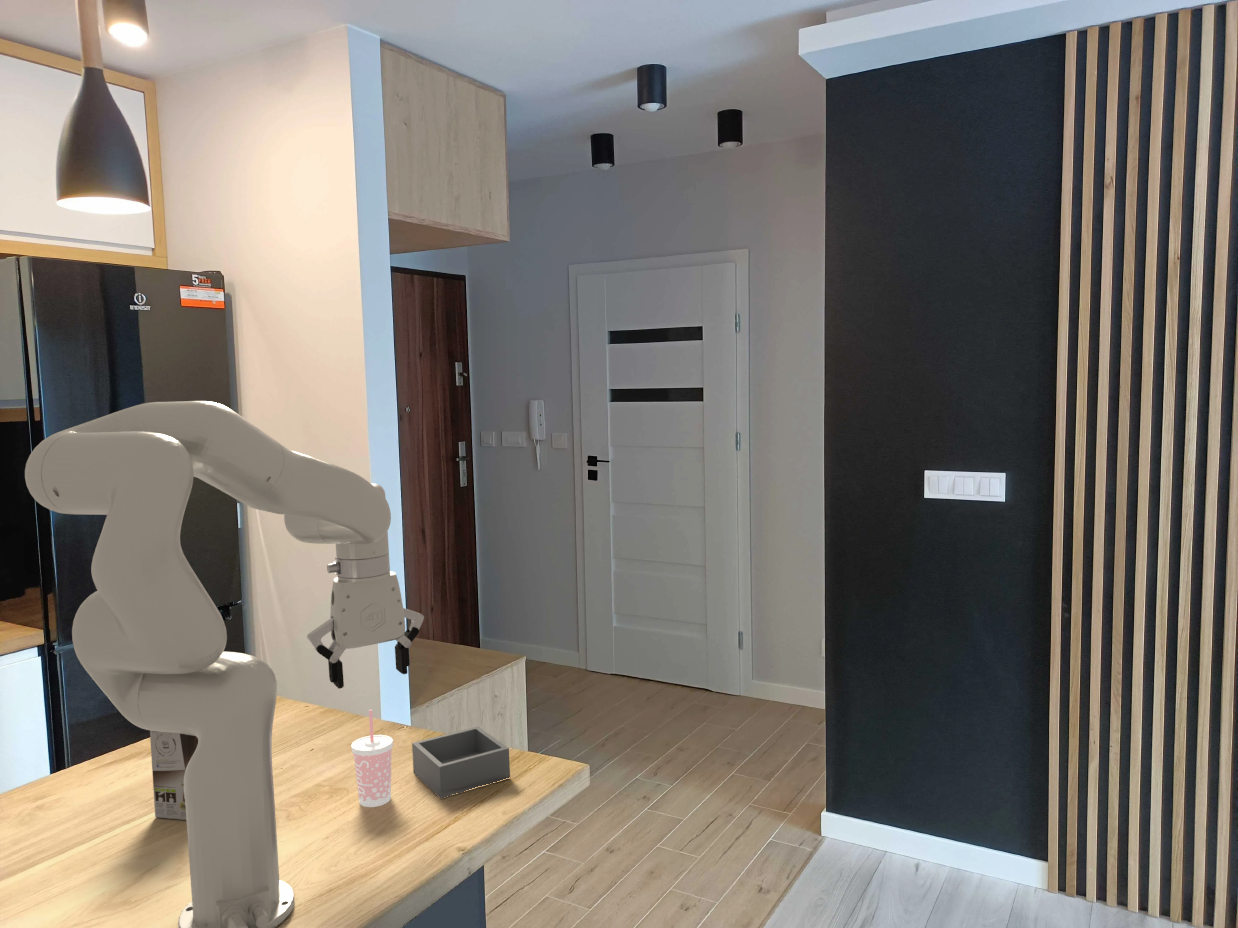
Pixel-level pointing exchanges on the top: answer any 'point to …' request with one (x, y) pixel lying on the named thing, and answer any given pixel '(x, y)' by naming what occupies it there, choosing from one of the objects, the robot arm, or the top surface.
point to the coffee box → (170, 771)
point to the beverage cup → (373, 767)
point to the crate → (460, 761)
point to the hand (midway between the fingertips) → (370, 678)
